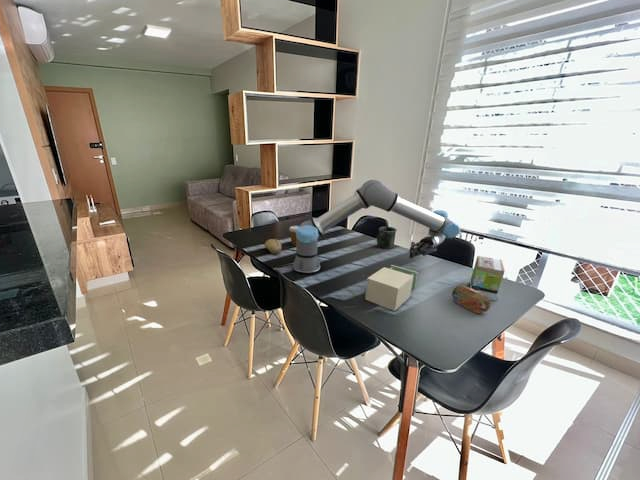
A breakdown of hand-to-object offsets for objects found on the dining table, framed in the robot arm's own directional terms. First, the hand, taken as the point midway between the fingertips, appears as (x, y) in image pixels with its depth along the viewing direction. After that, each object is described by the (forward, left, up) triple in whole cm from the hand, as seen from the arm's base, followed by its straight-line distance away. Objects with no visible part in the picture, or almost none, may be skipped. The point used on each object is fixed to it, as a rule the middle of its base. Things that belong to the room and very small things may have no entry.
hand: (411, 255), depth 139 cm
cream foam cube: (-18, -11, -15) cm, 25 cm away
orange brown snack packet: (+11, -26, -15) cm, 32 cm away
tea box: (+28, -16, -15) cm, 36 cm away
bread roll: (-57, +60, -15) cm, 84 cm away
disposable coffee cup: (-39, +69, -15) cm, 80 cm away
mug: (+16, +49, -15) cm, 53 cm away
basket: (-9, -6, -14) cm, 18 cm away
